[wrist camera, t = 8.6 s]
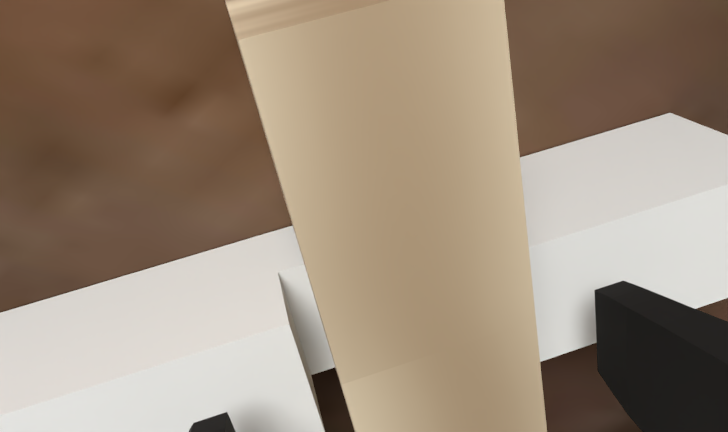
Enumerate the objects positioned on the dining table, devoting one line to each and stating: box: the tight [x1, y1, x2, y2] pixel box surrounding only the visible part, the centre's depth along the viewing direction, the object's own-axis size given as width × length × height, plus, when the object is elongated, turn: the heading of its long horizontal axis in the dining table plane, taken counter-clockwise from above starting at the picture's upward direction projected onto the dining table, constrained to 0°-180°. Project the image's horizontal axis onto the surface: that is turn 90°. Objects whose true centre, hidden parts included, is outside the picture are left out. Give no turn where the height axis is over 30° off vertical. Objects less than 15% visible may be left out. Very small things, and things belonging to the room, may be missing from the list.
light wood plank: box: [225, 0, 547, 432], centre depth 13 cm, size 3×14×7 cm, turn 12°
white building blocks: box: [0, 113, 728, 432], centre depth 14 cm, size 18×3×4 cm, turn 102°
